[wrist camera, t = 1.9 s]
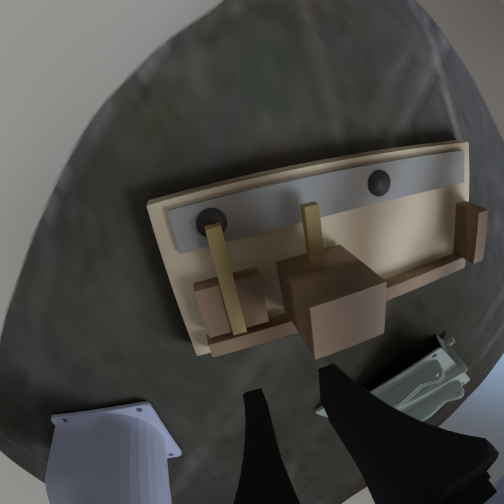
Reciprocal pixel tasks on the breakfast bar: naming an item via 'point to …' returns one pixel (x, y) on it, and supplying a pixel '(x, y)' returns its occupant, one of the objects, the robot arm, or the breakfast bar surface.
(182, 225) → the gauge board
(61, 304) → the breakfast bar surface
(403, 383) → the metal bracket
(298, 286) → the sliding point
